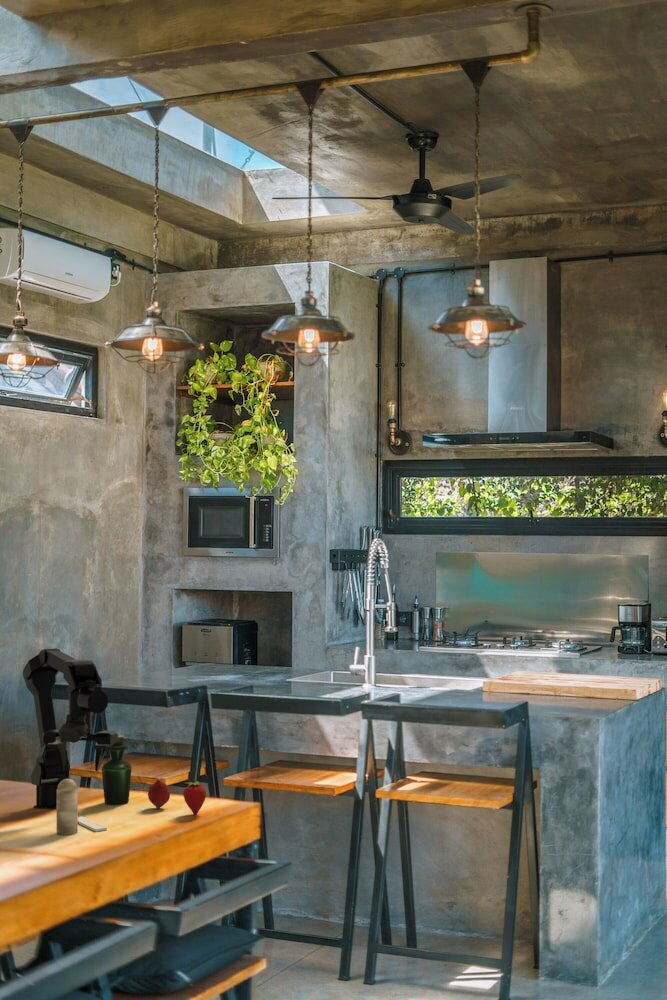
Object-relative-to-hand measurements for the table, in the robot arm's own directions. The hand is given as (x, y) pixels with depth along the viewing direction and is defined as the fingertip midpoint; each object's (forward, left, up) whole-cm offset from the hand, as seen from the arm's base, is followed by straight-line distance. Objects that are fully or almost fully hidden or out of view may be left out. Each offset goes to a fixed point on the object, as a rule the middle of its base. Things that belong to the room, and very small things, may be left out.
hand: (80, 770), depth 313 cm
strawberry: (+28, +9, -12) cm, 32 cm away
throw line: (+6, -8, -12) cm, 15 cm away
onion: (+16, +15, -12) cm, 25 cm away
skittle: (+4, -17, -12) cm, 21 cm away
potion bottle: (+2, +20, -12) cm, 24 cm away
